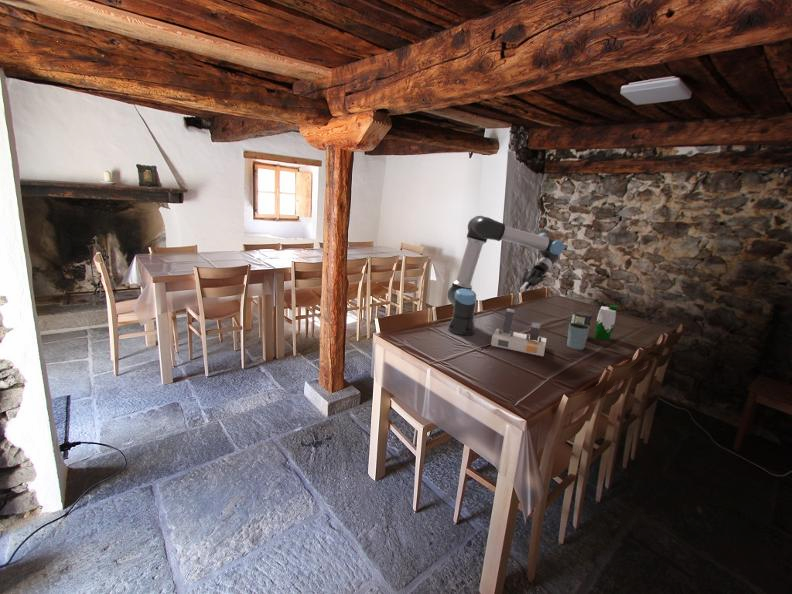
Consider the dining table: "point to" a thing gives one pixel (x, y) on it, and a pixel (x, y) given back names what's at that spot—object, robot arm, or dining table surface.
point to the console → (518, 342)
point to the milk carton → (605, 322)
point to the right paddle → (534, 331)
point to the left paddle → (508, 320)
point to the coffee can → (582, 318)
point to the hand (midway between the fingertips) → (521, 290)
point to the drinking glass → (577, 335)
